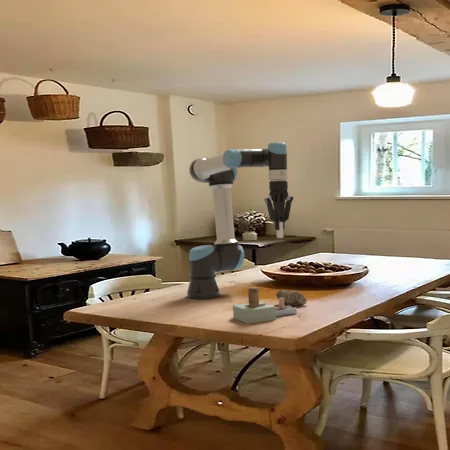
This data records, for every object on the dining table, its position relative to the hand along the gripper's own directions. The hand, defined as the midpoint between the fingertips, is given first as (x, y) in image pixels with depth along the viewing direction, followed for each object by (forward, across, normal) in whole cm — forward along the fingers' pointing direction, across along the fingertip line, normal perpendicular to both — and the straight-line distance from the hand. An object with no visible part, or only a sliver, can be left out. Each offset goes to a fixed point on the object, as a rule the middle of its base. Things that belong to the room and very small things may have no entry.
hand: (280, 237), depth 254 cm
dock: (+29, -19, -10) cm, 36 cm away
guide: (+29, -7, -10) cm, 32 cm away
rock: (+30, +6, +3) cm, 30 cm away
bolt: (+29, -10, -10) cm, 32 cm away
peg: (+29, -19, -10) cm, 36 cm away
